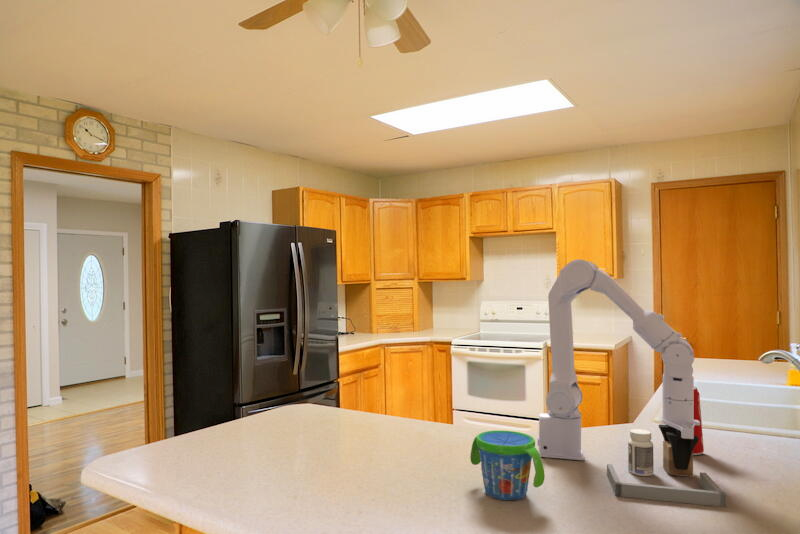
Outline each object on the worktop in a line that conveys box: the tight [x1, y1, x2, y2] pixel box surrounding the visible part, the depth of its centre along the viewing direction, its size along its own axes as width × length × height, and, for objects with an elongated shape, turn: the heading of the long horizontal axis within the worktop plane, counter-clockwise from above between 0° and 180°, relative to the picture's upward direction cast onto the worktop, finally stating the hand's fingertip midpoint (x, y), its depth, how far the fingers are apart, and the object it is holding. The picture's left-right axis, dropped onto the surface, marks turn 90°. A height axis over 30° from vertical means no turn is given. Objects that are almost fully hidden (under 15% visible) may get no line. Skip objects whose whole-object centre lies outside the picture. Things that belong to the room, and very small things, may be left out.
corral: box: [606, 463, 727, 508], centre depth 100 cm, size 18×11×2 cm, turn 76°
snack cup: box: [469, 430, 545, 501], centre depth 97 cm, size 16×10×10 cm
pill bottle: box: [627, 428, 654, 477], centre depth 109 cm, size 5×5×8 cm
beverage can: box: [693, 386, 705, 456], centre depth 124 cm, size 6×6×15 cm
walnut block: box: [662, 440, 694, 478], centre depth 109 cm, size 4×4×6 cm
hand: (677, 464), depth 109 cm, fingers closed on walnut block, 4 cm apart
